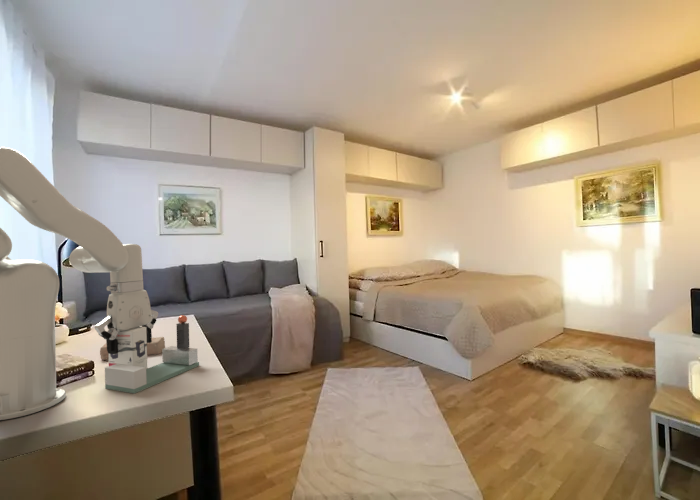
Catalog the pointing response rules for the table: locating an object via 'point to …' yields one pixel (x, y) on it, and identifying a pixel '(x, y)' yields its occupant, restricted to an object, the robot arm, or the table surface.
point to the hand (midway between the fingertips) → (130, 347)
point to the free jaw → (181, 346)
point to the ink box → (131, 348)
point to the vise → (141, 375)
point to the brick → (152, 348)
